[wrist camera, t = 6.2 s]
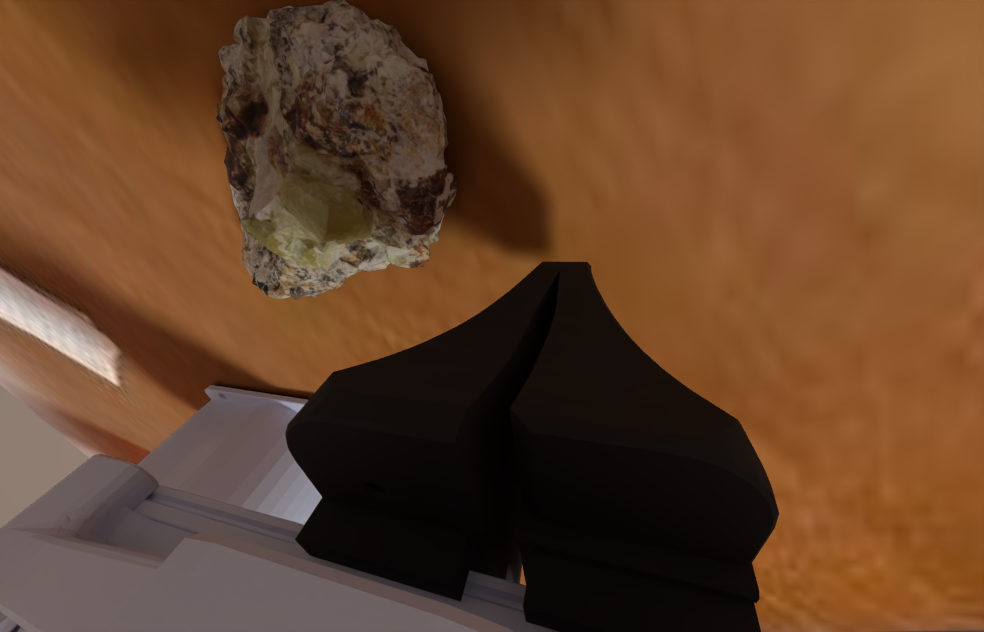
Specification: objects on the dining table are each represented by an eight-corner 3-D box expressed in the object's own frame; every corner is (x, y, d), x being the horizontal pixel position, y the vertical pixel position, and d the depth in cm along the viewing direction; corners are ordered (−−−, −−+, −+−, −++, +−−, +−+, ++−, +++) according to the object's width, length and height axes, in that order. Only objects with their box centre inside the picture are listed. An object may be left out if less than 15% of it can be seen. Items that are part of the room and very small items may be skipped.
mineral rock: (176, -185, 6) (448, 174, 7) (360, -74, 10) (536, 160, 10) (148, 205, 13) (286, 378, 13) (264, 190, 17) (372, 328, 17)
